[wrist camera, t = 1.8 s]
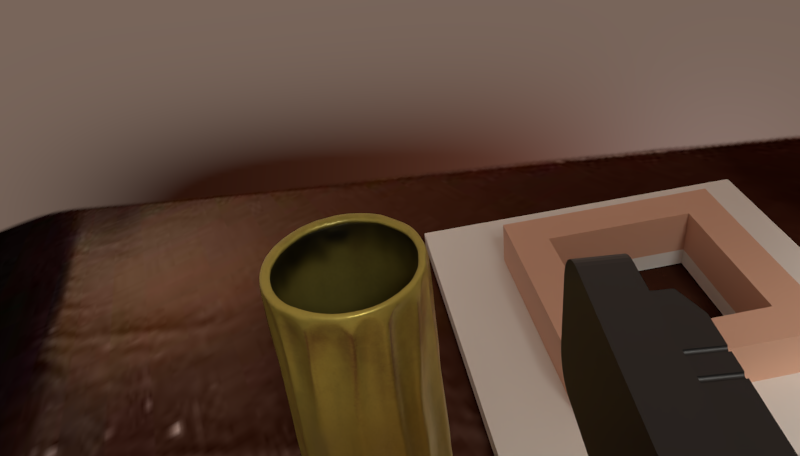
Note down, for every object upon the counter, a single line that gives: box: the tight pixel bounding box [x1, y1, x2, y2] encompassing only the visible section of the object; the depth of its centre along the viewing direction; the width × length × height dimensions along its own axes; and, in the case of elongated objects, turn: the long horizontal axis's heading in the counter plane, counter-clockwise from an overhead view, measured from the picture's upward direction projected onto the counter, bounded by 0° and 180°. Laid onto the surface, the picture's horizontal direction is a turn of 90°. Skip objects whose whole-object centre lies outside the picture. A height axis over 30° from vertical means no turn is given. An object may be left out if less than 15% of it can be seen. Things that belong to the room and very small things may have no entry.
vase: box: [259, 213, 453, 456], centre depth 26 cm, size 6×6×14 cm
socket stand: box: [424, 179, 800, 456], centre depth 38 cm, size 20×20×4 cm
